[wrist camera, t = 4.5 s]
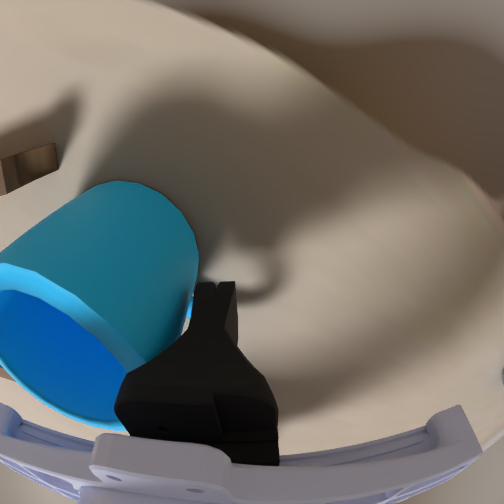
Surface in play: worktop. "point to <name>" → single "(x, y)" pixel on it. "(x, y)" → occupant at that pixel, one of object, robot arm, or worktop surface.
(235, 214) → the worktop surface
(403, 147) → the worktop surface
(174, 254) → the mug
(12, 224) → the worktop surface
